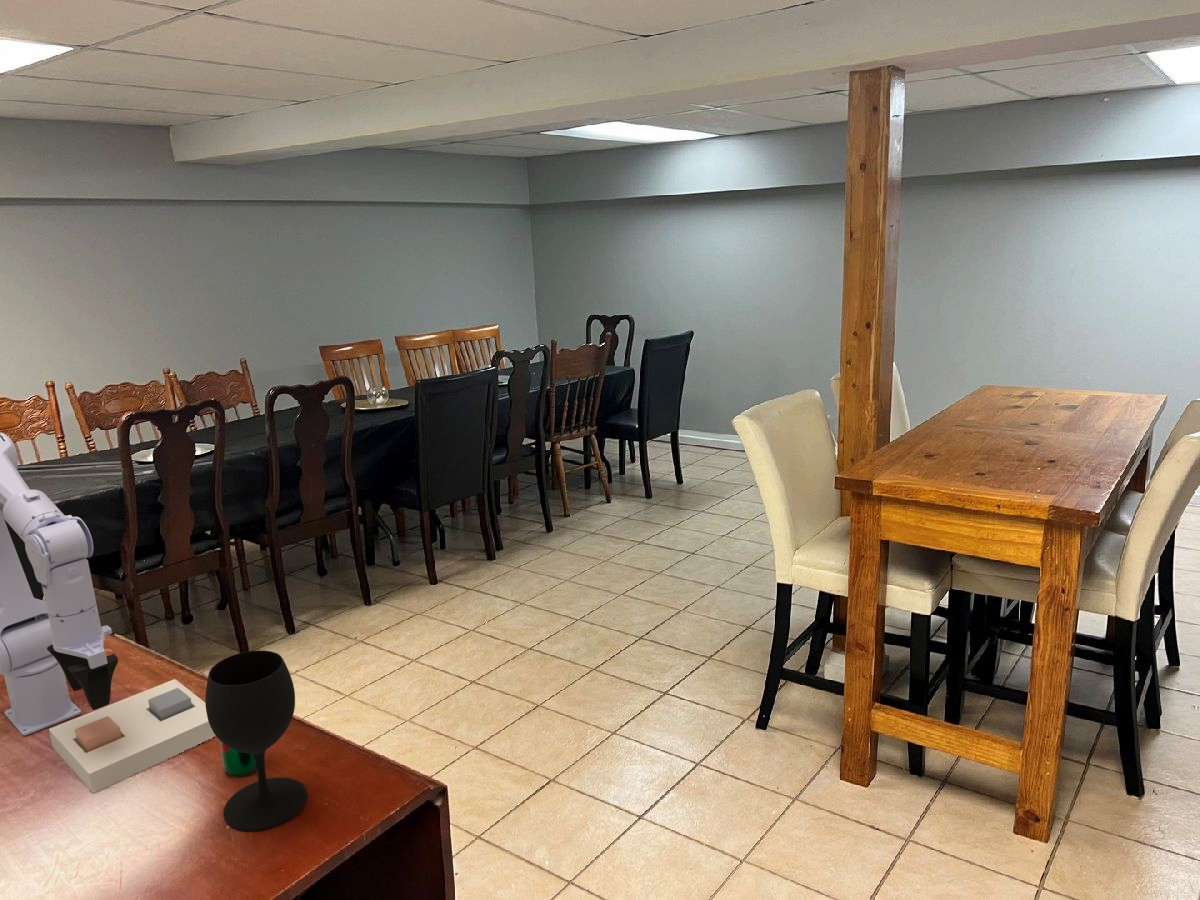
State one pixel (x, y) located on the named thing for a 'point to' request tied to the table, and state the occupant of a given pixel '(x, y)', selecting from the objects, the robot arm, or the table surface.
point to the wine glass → (255, 733)
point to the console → (132, 737)
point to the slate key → (169, 704)
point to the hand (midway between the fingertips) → (90, 697)
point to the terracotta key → (98, 734)
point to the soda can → (237, 761)
